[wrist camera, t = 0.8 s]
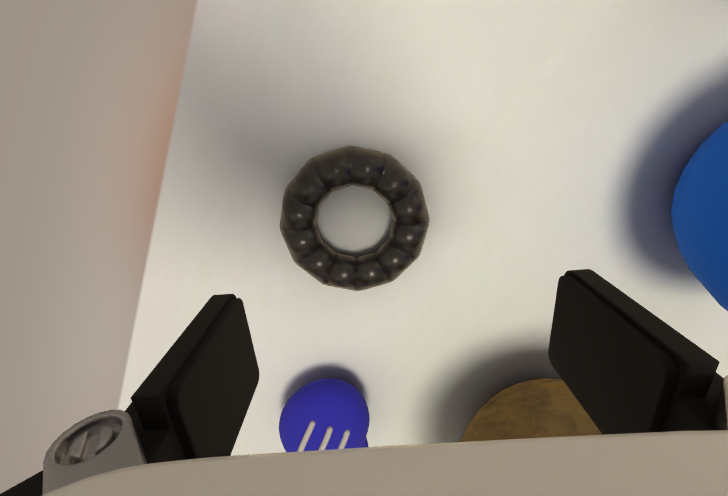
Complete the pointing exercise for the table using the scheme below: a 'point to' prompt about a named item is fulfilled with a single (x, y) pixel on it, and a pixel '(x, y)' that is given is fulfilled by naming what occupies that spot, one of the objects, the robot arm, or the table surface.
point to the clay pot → (531, 413)
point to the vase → (705, 214)
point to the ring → (363, 172)
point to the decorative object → (324, 417)
